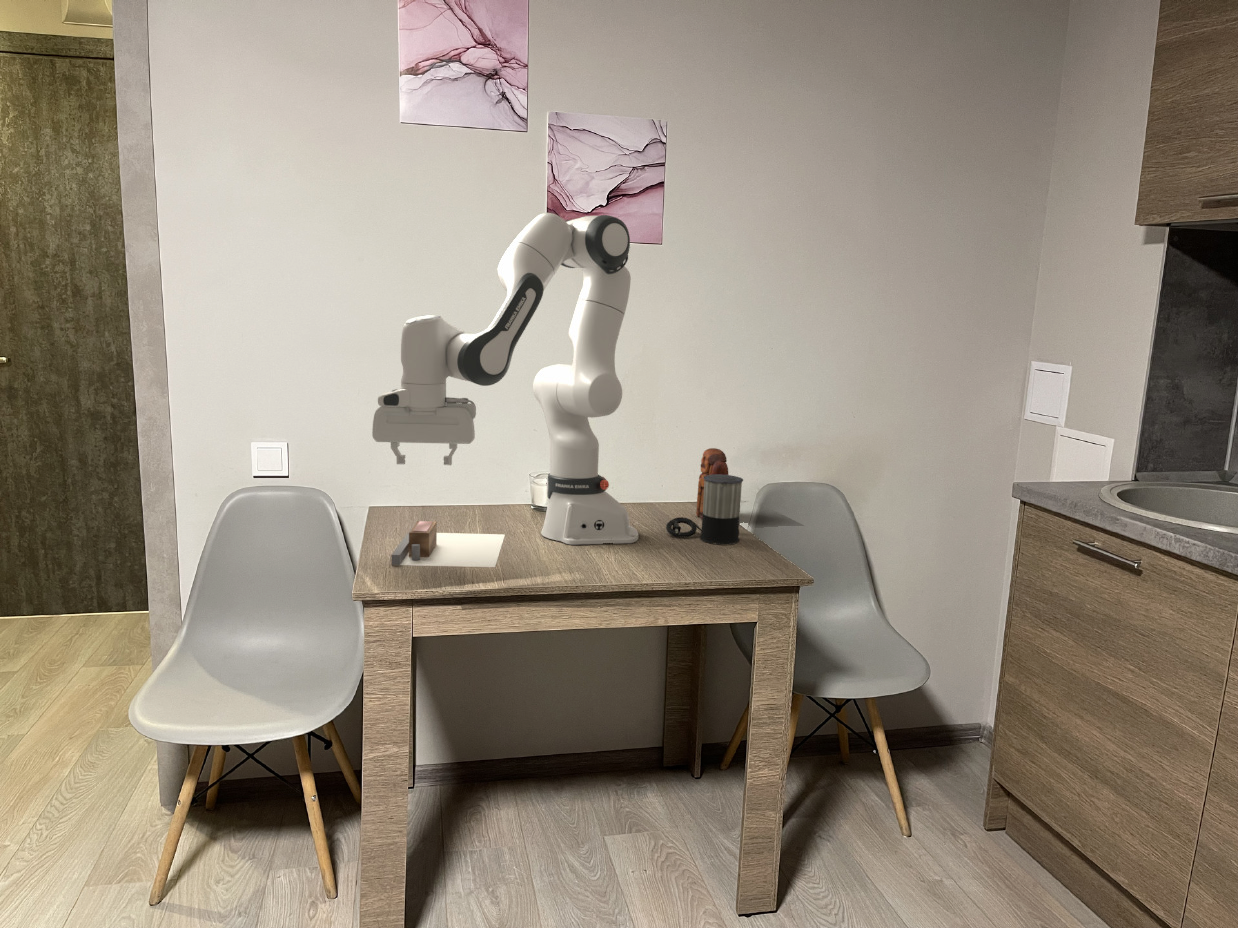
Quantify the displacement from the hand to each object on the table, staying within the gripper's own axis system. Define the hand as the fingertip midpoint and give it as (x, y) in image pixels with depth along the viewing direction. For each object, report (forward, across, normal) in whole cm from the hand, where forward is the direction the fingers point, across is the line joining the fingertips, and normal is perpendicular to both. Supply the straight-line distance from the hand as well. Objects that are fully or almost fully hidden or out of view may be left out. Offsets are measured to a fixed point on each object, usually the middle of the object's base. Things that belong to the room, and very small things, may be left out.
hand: (424, 464), depth 183 cm
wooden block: (+18, 0, +1) cm, 18 cm away
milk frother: (+20, -61, -20) cm, 67 cm away
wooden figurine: (+20, -66, -42) cm, 80 cm away
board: (+19, -5, -1) cm, 20 cm away
